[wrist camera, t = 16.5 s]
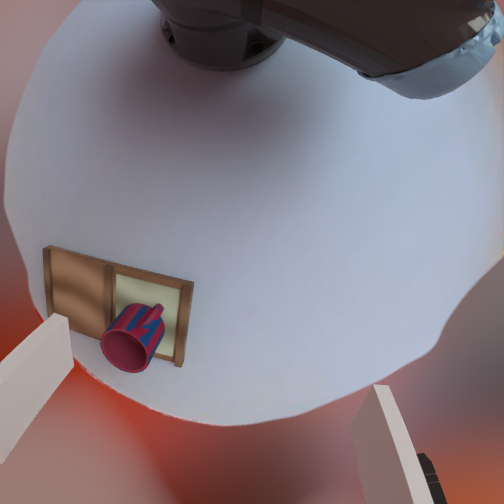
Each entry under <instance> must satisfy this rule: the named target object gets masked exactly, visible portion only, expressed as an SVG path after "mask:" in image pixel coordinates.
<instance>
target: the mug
mask: <svg viewBox="0 0 504 504" xmlns="http://www.w3.org/2000/svg"><path fill="white" fill-rule="evenodd" d="M163 310H164V307H163V306H162V305H161V304H159V303H158V304H156V305H155V306H154V307H153V308H151V307H149V306H147V305H145V304H141V303H133V304H130V305H128V306H126V307H125V308H124V309H123V310H122V312H121V313H120V314H119V315H118V316H117V318H116V319H115V320H114V321H113V322H112V324H111V325H110V326H109V327H108V328H107V330H106V331H105V332H104V333H103V335H102V337H101V342H100V344H101V349H102V351H103V354H104V355H105V357H106V358H107V359H108V361H109V362H110V363H111V364H113V365H114V366H115V367H117V368H119V369H120V370H123V371H126V372H130V373H137V372H141V371H143V370H144V369H146V368H147V366H148V365H149V363H150V361H151V359H152V357H153V355H154V353H155V351H156V349H157V347H158V346H159V344H160V342H161V340H162V338H163V336H164V333H165V325H164V322H163V320H162V318H161V314H162V312H163Z"/></svg>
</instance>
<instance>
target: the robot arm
mask: <svg viewBox="0 0 504 504" xmlns="http://www.w3.org/2000/svg"><path fill="white" fill-rule="evenodd" d="M151 1H152V2H153V3H154V4H155V5H156V6H157V8H158V9H159V10H160V12H161V28H162V32H163V35H164V37H165V39H166V41H167V43H168V44H169V46H170V47H171V48H172V49H173V50H174V51H175V52H176V53H177V54H178V55H179V56H180V57H181V58H182V59H183V60H185V61H186V62H188V63H190V64H192V65H194V66H197V67H199V68H203V69H207V70H213V71H232V70H238V69H243V68H246V67H249V66H252V65H255V64H257V63H259V62H261V61H263V60H264V59H266V58H267V57H269V56H270V55H272V54H273V53H274V52H275V51H276V50H277V49H278V48H279V47H280V46H281V44H282V43H283V42H284V40H285V38H286V37H287V38H289V39H292V40H294V41H296V42H299V43H301V44H303V45H305V46H308V47H310V48H312V49H314V50H317V51H319V52H321V53H323V54H325V55H327V56H329V57H331V58H333V59H335V60H337V61H339V62H341V63H343V64H345V65H347V66H349V67H351V68H352V69H354V70H356V71H357V72H358V74H359V75H360V76H362V77H363V78H365V79H367V80H371V81H376V82H378V83H380V84H382V85H384V86H385V87H387V88H389V89H391V90H392V91H394V92H396V93H398V94H399V95H401V96H404V97H407V98H410V99H414V98H415V99H422V100H426V99H432V98H436V97H440V96H442V95H445V94H447V93H450V92H452V91H454V90H455V89H457V88H459V87H460V86H462V85H463V84H465V83H466V82H467V81H469V80H470V79H472V78H473V77H474V76H475V75H476V74H477V73H478V72H480V71H481V70H482V69H483V68H484V66H485V65H486V64H487V63H488V62H489V60H490V59H491V58H492V56H493V55H494V53H495V48H494V46H495V45H496V44H498V43H500V42H501V40H502V38H503V34H504V17H503V14H502V12H501V11H500V8H499V6H498V5H497V3H496V2H495V1H494V0H151ZM73 367H74V363H73V356H72V349H71V341H70V333H69V324H68V318H67V317H64V316H62V315H59V314H56V313H53V314H52V315H51V316H50V317H49V318H48V319H47V320H46V321H44V322H43V323H42V324H41V325H40V326H39V327H38V328H37V329H36V330H35V331H33V332H32V333H31V334H30V335H29V336H28V337H27V338H26V339H25V340H24V341H22V343H20V344H19V345H18V346H17V347H16V348H15V349H14V350H13V351H12V352H11V353H10V354H9V355H8V356H7V357H6V358H5V359H4V360H3V361H2V362H0V464H1V465H2V464H3V462H4V460H5V459H6V458H7V456H8V454H9V453H10V452H11V450H12V449H13V447H14V446H15V444H16V443H17V442H18V440H19V438H20V437H21V436H22V434H23V433H24V432H25V430H26V429H27V427H28V426H29V425H30V423H31V422H32V420H33V419H34V418H35V416H36V415H37V414H38V412H39V411H40V410H41V408H42V407H43V406H44V404H45V403H46V401H47V400H48V399H49V398H50V396H51V395H52V394H53V392H54V391H55V390H56V388H57V387H58V386H59V385H60V383H61V382H62V381H63V379H64V378H65V377H66V376H67V374H68V373H69V372H70V370H71V369H72V368H73ZM349 429H350V433H351V438H352V442H353V446H354V451H355V455H356V460H357V464H358V469H359V474H360V479H361V483H362V488H363V493H364V498H365V503H366V504H447V501H446V498H445V496H444V493H443V490H442V488H441V485H440V483H439V482H438V481H439V480H438V477H437V475H436V474H435V473H436V472H435V469H434V467H433V464H432V462H431V461H430V460H429V459H428V458H427V457H426V455H425V454H424V453H421V454H416V452H415V450H414V447H413V444H412V442H411V439H410V437H409V435H408V432H407V429H406V427H405V424H404V422H403V419H402V417H401V414H400V412H399V410H398V407H397V405H396V403H395V400H394V398H393V395H392V393H391V391H390V388H389V386H384V385H373V386H372V388H371V390H370V391H369V393H368V395H367V397H366V399H365V400H364V402H363V404H362V405H361V407H360V409H359V411H358V412H357V414H356V416H355V417H354V419H353V421H352V422H351V424H350V425H349Z"/></svg>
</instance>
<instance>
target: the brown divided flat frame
mask: <svg viewBox="0 0 504 504" xmlns="http://www.w3.org/2000/svg"><path fill="white" fill-rule="evenodd" d="M43 265H44V281H45V293H46V303H47V312H48V318H49V317H50V316H51V315H52V314H53V313H56V314H59V315H62V316H64V317H67V318H68V324H69V329H71V330H73V331H76V332H79V333H82V334H84V335H87V336H90V337H93V338H96V339H99V340H101V337H102V335H103V333H104V332H105V331H106V330H107V328H108V327H109V326H110V325H111V324H112V322H113V321H114V320H115V319H116V318H117V316H118V315H119V314H120V313H121V312H122V310H123V309H124V308H125V307H126V306H128V305H130V304H133V303H141V304H145V305H147V306H149V307H151V308H153V307H154V306H155V305H156V304H158V303H159V304H161V305H162V306H163V307H164V310H163V312H162V314H161V318H162V320H163V322H164V325H165V333H164V336H163V338H162V340H161V342H160V344H159V346H158V347H157V349H156V351H155V353H154V355H153V357H157V358H160V359H164V360H168V361H172V362H175V365H174V366H177V367H182V364H183V361H184V356H185V347H186V339H187V331H188V323H189V316H190V309H191V301H192V294H193V287H194V282H191V281H187V280H183V279H178V278H174V277H170V276H166V275H161V274H157V273H153V272H149V271H145V270H141V269H137V268H133V267H129V266H125V265H121V264H117V263H113V262H110V261H106V260H102V259H98V258H94V257H91V256H87V255H83V254H79V253H76V252H72V251H69V250H65V249H61V248H58V247H54V246H51V245H49V246H47V247H46V248H44V249H43Z"/></svg>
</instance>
